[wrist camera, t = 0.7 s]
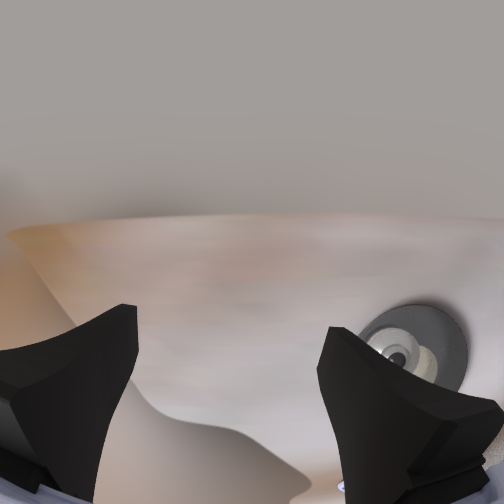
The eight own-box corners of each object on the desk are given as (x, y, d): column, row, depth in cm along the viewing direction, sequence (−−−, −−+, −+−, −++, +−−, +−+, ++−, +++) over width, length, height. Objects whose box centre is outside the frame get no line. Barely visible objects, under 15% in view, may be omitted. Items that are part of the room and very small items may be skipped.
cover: (420, 348, 26) (433, 358, 23) (382, 385, 26) (390, 400, 23) (389, 312, 26) (400, 320, 23) (349, 352, 27) (355, 364, 24)
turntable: (479, 360, 26) (486, 364, 25) (389, 446, 28) (393, 453, 26) (412, 274, 27) (418, 275, 26) (310, 374, 29) (311, 380, 27)
